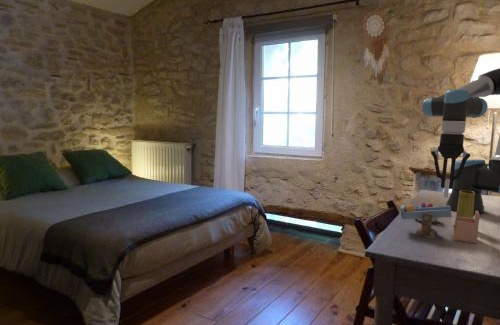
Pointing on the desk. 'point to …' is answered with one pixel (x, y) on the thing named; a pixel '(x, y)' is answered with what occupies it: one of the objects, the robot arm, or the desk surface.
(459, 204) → the vase
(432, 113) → the robot arm
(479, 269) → the desk surface
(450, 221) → the desk surface
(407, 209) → the ball
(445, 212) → the lever
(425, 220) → the fulcrum
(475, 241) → the pink square box
